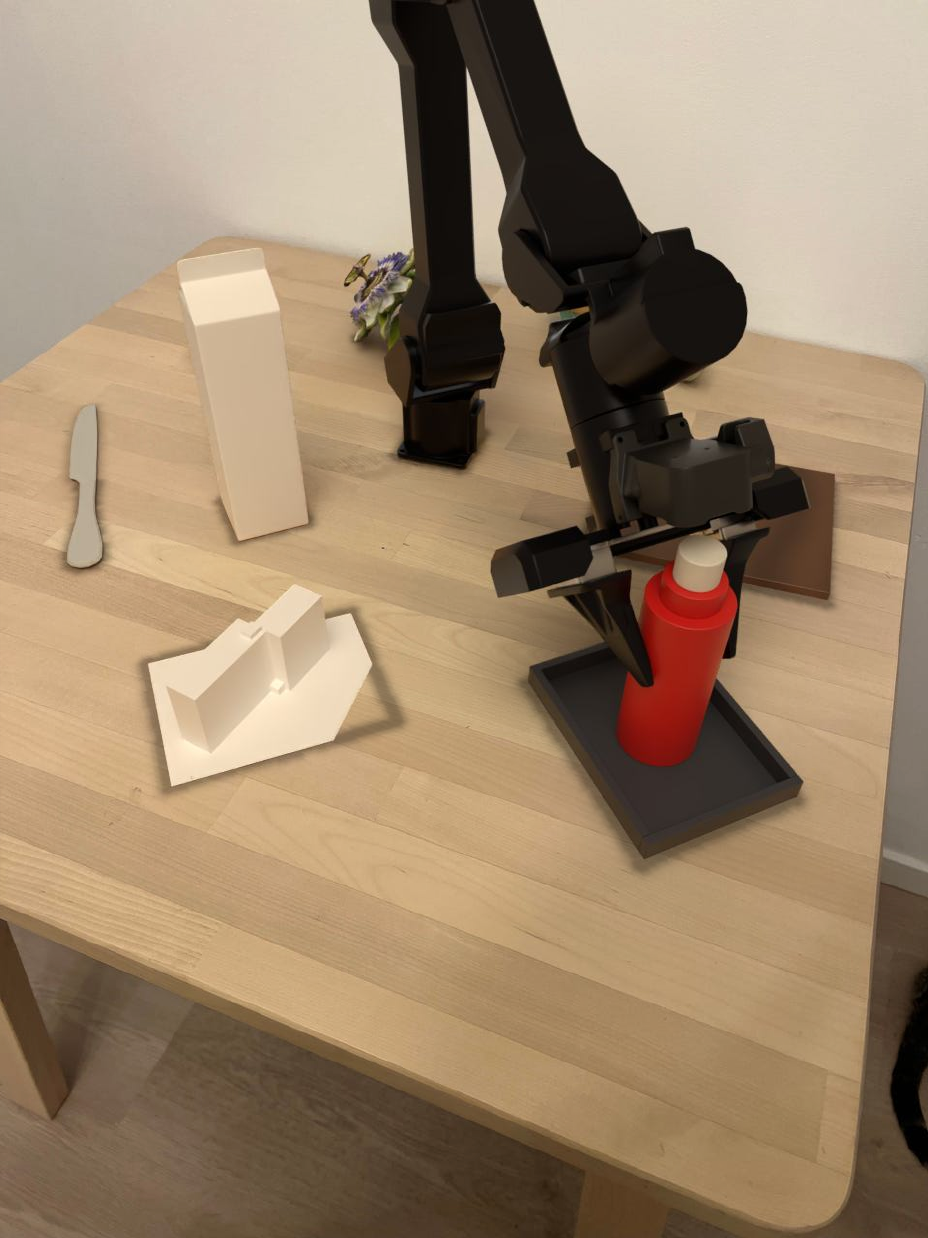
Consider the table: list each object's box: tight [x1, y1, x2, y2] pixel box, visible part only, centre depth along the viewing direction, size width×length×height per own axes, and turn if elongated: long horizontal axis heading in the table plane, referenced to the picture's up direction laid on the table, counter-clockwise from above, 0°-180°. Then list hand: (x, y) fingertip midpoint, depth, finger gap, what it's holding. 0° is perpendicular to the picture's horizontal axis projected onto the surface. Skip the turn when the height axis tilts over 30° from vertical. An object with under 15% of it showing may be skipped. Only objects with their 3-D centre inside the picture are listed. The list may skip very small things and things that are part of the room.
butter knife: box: [66, 403, 103, 569], centre depth 81 cm, size 1×24×3 cm
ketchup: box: [616, 535, 737, 767], centre depth 56 cm, size 5×5×16 cm
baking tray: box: [527, 641, 804, 860], centre depth 61 cm, size 15×11×2 cm
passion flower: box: [343, 247, 415, 351], centre depth 97 cm, size 11×11×12 cm
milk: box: [176, 247, 310, 542], centre depth 70 cm, size 6×6×22 cm
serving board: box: [586, 462, 836, 601], centre depth 78 cm, size 19×16×1 cm
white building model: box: [147, 583, 374, 787], centre depth 62 cm, size 15×11×6 cm
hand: (688, 672), depth 55 cm, fingers open, 5 cm apart
